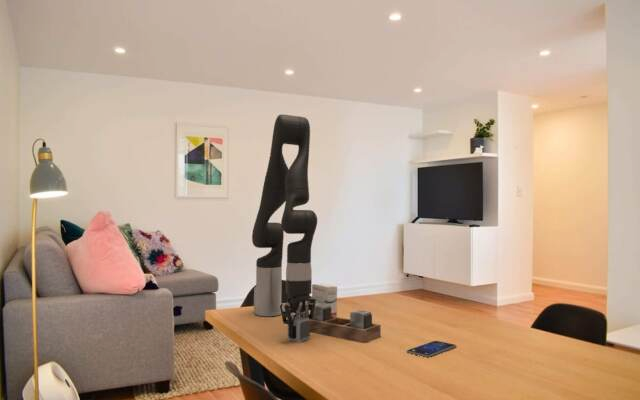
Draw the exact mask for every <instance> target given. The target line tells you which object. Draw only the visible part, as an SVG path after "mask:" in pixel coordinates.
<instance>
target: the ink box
mask: <svg viewBox="0 0 640 400" xmlns="http://www.w3.org/2000/svg"><path fill="white" fill-rule="evenodd" d="M311 298H312V299H316V303H315V305H316V304H325V305H331V316H333V317H337V315H338V311H337V310H338V309H337V307H338V306H337V305H338V286H337V285H331V284H324V283H312V284H311Z"/></svg>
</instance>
